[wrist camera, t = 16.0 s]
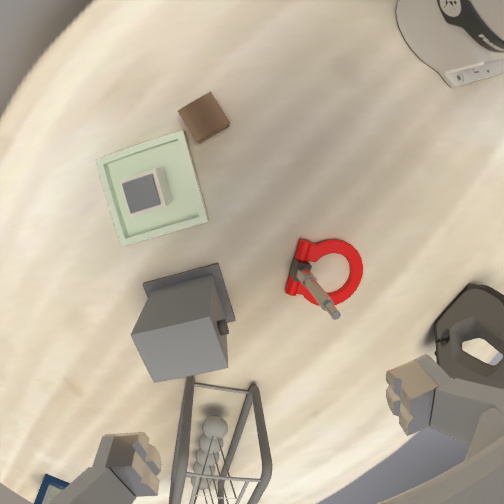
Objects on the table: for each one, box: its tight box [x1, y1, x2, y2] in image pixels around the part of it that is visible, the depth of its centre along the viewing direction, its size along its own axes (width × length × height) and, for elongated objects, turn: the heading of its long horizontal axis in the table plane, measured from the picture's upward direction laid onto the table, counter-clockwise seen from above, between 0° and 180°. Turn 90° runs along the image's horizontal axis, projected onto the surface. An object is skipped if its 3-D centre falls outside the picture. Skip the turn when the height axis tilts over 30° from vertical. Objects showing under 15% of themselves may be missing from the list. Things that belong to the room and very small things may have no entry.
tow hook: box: [285, 239, 363, 320], centre depth 36 cm, size 9×14×10 cm
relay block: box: [120, 168, 173, 217], centre depth 33 cm, size 4×4×6 cm
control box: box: [131, 263, 235, 383], centre depth 35 cm, size 10×8×12 cm
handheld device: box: [435, 283, 504, 389], centre depth 34 cm, size 6×15×25 cm, turn 131°
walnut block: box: [178, 92, 230, 144], centre depth 34 cm, size 4×4×4 cm
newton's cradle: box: [169, 376, 272, 504], centre depth 40 cm, size 30×10×18 cm, turn 167°
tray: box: [96, 130, 209, 247], centre depth 36 cm, size 11×11×2 cm
